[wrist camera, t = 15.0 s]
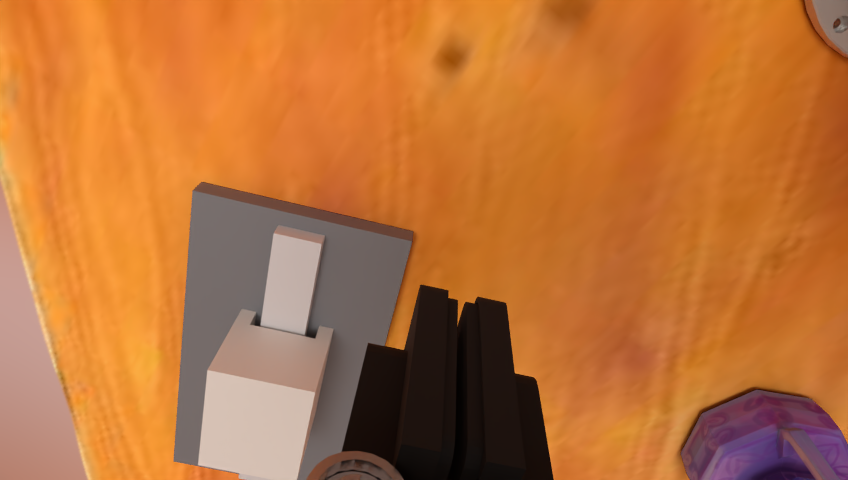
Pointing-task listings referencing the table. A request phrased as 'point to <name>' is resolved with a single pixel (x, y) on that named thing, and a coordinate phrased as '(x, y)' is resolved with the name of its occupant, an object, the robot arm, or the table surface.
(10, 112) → the table surface
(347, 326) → the rail board
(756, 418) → the lantern
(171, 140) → the table surface
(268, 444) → the block
